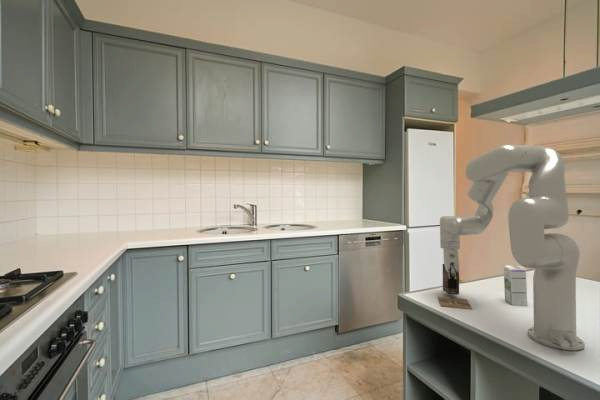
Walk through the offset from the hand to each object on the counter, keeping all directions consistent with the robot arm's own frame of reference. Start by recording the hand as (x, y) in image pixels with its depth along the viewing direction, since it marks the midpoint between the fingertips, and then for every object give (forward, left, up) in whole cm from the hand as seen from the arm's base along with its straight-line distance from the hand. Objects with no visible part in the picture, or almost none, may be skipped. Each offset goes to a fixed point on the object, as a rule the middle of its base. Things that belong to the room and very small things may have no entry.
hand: (450, 285), depth 125 cm
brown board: (-9, 0, -5) cm, 10 cm away
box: (0, 0, -3) cm, 3 cm away
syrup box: (-2, -23, -5) cm, 23 cm away
